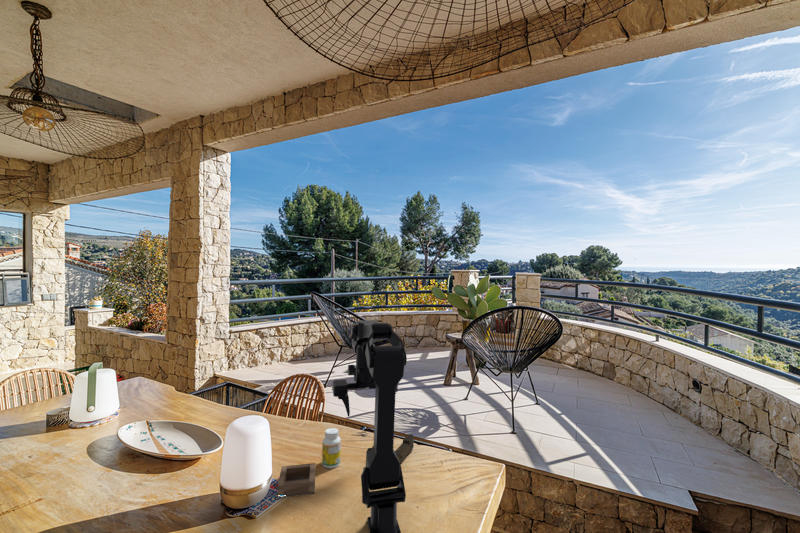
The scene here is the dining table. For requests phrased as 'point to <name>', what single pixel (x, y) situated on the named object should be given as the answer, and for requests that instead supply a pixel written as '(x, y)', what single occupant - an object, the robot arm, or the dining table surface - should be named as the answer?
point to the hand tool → (405, 448)
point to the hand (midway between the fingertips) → (364, 414)
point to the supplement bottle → (331, 448)
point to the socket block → (297, 480)
